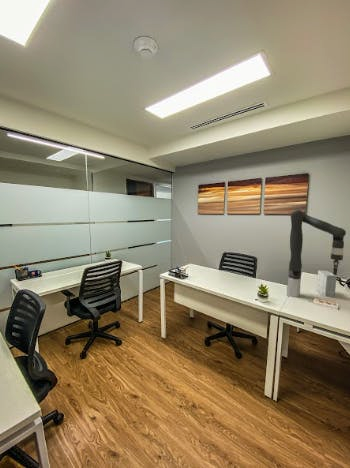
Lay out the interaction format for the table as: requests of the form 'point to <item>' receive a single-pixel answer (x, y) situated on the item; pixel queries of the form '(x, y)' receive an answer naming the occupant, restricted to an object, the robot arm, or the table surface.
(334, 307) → the power strip
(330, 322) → the table surface
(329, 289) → the hard drive box
